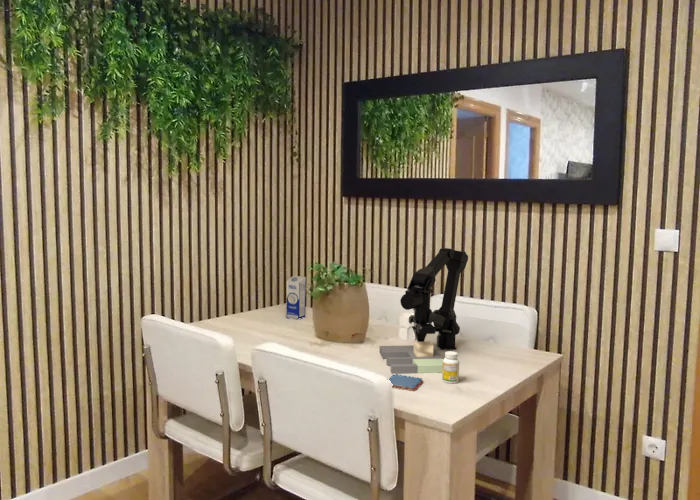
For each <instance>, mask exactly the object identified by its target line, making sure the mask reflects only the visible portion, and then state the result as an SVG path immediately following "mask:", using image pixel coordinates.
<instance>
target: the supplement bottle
mask: <svg viewBox="0 0 700 500" xmlns="http://www.w3.org/2000/svg"><path fill="white" fill-rule="evenodd" d="M441 377H442V381H443V383H445V384H450V385H453V384H457V383H459V380H460V379H459V378H460V360H459V358H458V352H457V351H450V350H448V351H445V353H444V358H443V373H442V375H441Z"/></svg>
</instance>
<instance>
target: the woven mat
mask: <svg viewBox="0 0 700 500" xmlns="http://www.w3.org/2000/svg"><path fill="white" fill-rule="evenodd" d="M388 379H389V380H390V381H391V383H392V384H393V388H392V389H396V390H397V389H398V390H403V391H404V390H405V391H408V392H411V391H412V392H415V391H416V390H417V389H418V388H419V387H420V386H421V385H422V384H423V383H424V380H423V378H422V377H418V376H417V377H415V376H410V375H404V374H392V375H391V376H390V377H389V378H388Z"/></svg>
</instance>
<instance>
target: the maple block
mask: <svg viewBox="0 0 700 500" xmlns="http://www.w3.org/2000/svg"><path fill="white" fill-rule="evenodd" d="M413 345H414V353H415V355H416V356H417V357H433V349H434V345H433V343H431V341H424V342H418V341H413Z"/></svg>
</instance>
